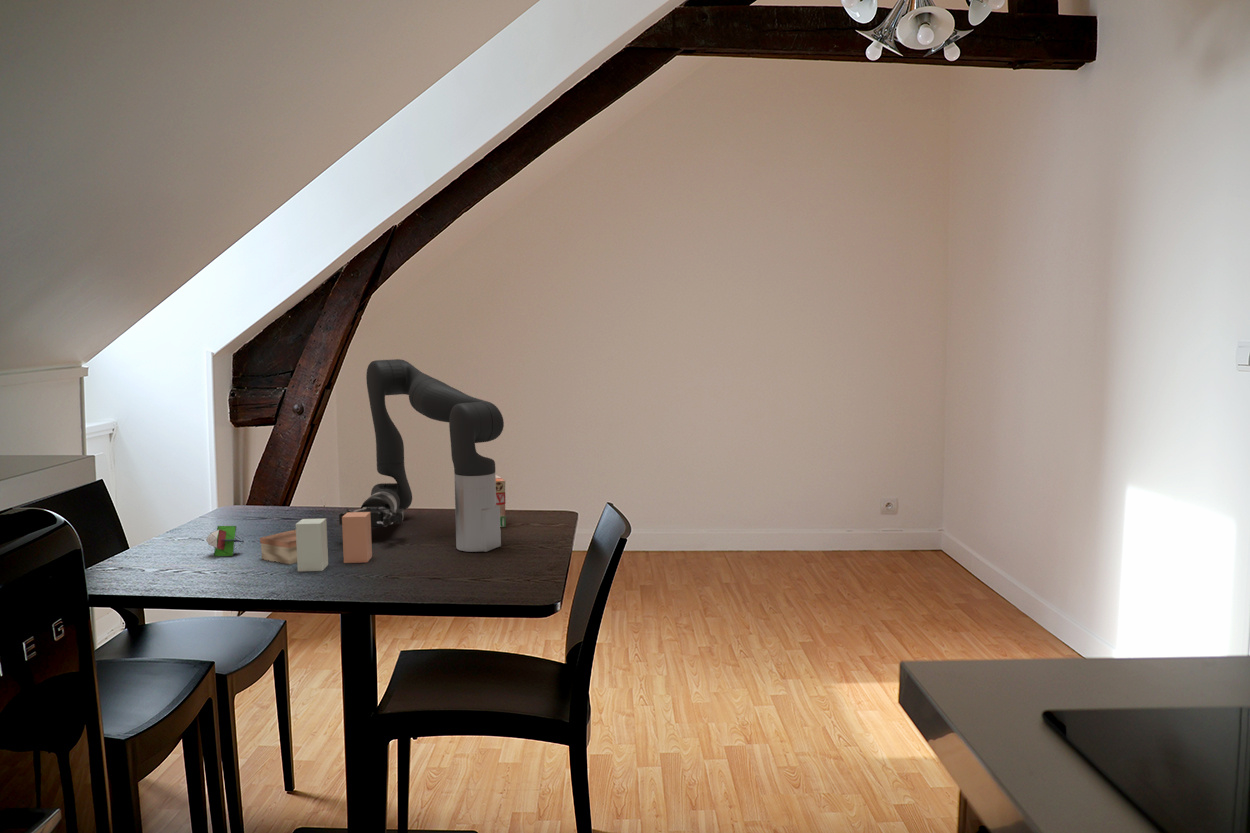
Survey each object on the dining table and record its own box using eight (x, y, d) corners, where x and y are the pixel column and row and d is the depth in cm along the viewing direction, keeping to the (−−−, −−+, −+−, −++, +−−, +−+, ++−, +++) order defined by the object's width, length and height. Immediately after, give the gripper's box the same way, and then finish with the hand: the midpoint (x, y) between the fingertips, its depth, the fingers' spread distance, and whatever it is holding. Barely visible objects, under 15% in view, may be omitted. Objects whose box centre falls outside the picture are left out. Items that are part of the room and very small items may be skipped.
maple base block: (323, 555, 203) (322, 533, 203) (289, 565, 195) (288, 542, 195) (295, 551, 208) (294, 529, 207) (261, 560, 200) (260, 537, 200)
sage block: (328, 564, 195) (326, 518, 194) (322, 570, 190) (320, 523, 189) (304, 565, 195) (302, 519, 194) (297, 571, 190) (295, 524, 189)
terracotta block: (372, 556, 202) (370, 511, 201) (367, 562, 197) (365, 516, 196) (348, 557, 201) (347, 512, 200) (343, 562, 196) (341, 517, 195)
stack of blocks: (462, 514, 247) (461, 469, 246) (485, 512, 249) (484, 467, 248) (482, 530, 227) (480, 481, 226) (506, 527, 230) (505, 479, 228)
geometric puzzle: (221, 539, 209) (209, 516, 204) (251, 539, 209) (240, 516, 204) (210, 564, 204) (198, 542, 199) (240, 564, 204) (229, 541, 198)
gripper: (349, 494, 223) (333, 507, 207) (408, 493, 224) (397, 505, 208) (350, 524, 224) (334, 539, 208) (409, 523, 225) (398, 538, 209)
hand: (365, 522), depth 208 cm, fingers open, 8 cm apart
